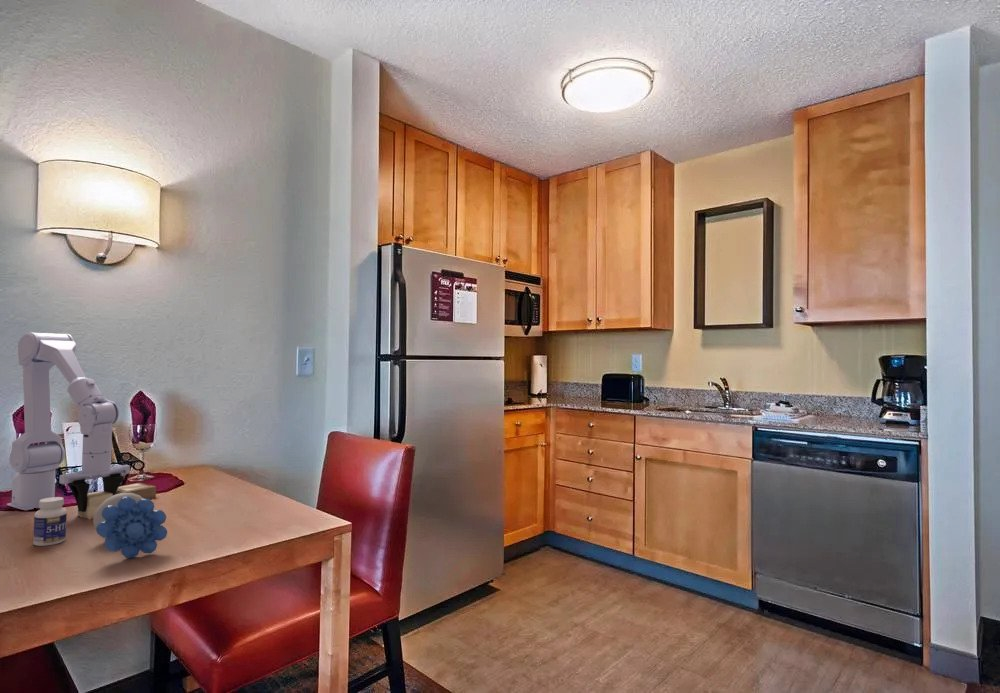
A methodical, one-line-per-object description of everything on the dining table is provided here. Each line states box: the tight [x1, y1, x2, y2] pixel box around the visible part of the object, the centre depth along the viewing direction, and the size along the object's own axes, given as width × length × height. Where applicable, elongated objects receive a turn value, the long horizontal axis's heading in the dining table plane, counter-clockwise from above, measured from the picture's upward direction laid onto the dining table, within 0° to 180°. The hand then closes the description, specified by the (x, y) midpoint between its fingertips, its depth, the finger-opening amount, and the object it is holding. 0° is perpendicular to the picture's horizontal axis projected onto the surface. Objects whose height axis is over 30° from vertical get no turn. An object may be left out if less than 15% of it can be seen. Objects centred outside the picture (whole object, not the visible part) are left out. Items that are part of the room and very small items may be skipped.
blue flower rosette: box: [95, 497, 168, 559], centre depth 107 cm, size 12×7×12 cm, turn 129°
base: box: [115, 482, 157, 500], centre depth 150 cm, size 8×8×3 cm
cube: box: [77, 490, 113, 520], centre depth 135 cm, size 5×5×5 cm
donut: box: [92, 493, 143, 540], centre depth 117 cm, size 10×4×10 cm, turn 135°
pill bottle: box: [32, 496, 68, 547], centre depth 115 cm, size 5×5×9 cm
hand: (95, 508), depth 135 cm, fingers closed on cube, 5 cm apart
